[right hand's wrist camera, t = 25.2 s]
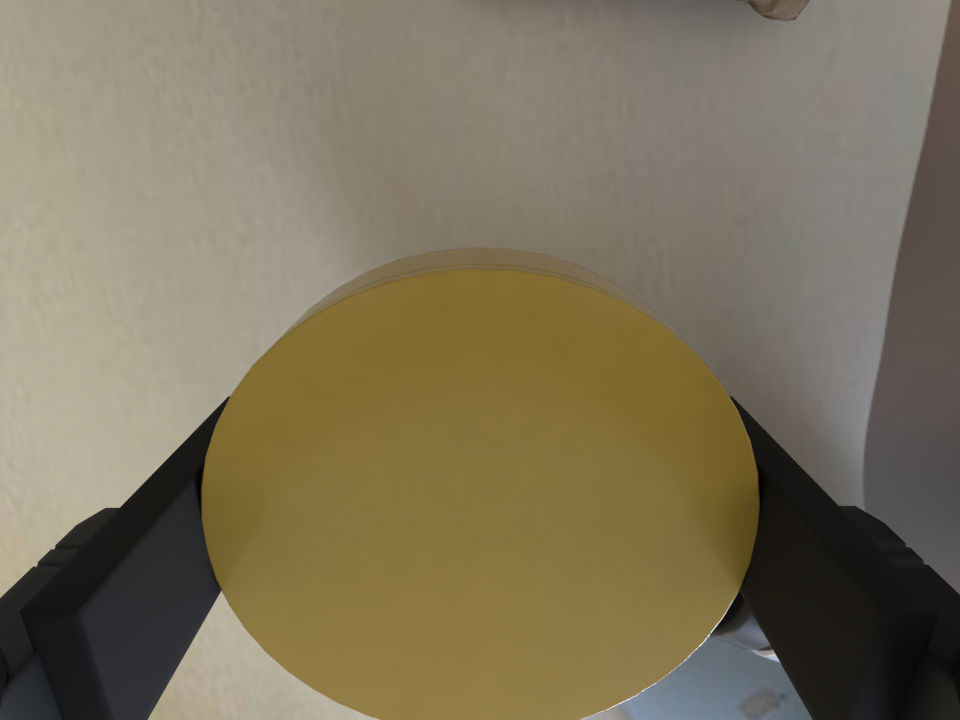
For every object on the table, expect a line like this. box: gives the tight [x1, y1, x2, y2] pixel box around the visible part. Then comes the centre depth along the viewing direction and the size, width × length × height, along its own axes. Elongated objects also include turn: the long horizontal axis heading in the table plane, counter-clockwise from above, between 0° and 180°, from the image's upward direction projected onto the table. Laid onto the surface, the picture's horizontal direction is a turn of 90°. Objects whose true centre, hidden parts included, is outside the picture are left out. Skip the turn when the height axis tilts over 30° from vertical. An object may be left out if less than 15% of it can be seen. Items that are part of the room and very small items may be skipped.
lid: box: [201, 248, 760, 720], centre depth 12 cm, size 10×10×2 cm
